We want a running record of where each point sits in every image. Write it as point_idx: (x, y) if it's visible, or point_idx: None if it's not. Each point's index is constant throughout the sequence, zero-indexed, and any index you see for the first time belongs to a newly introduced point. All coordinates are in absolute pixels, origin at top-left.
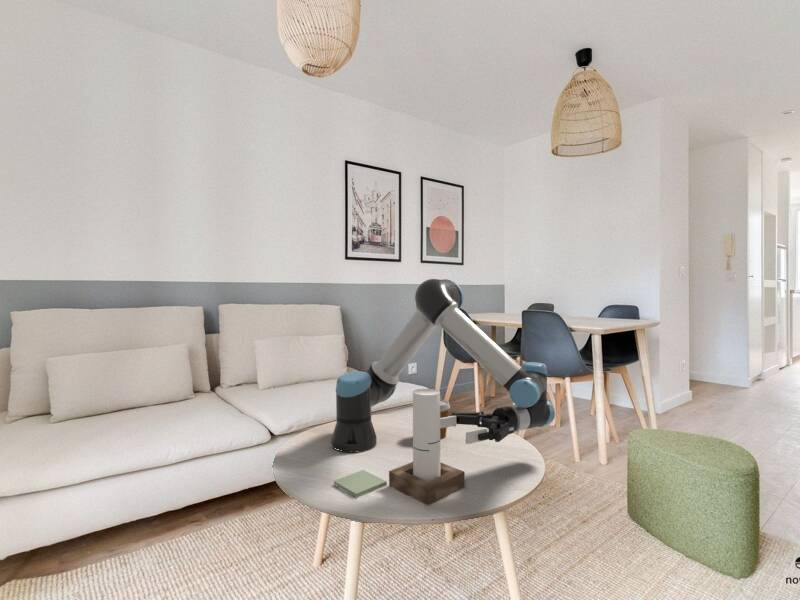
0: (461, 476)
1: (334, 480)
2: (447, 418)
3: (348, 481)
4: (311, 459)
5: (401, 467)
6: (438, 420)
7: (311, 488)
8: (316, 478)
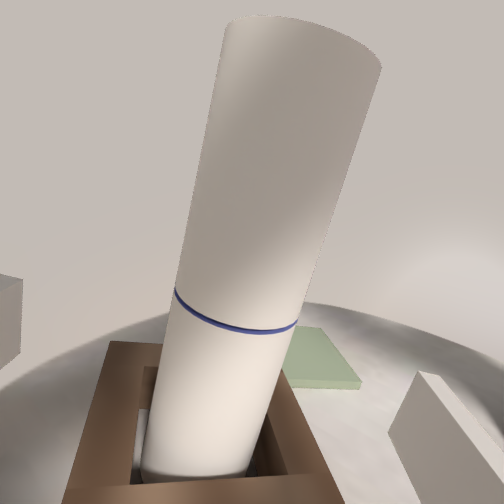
0: None
1: (321, 329)
2: (487, 474)
3: (308, 338)
4: (451, 365)
5: (281, 382)
6: (196, 191)
7: (316, 315)
8: (353, 333)
